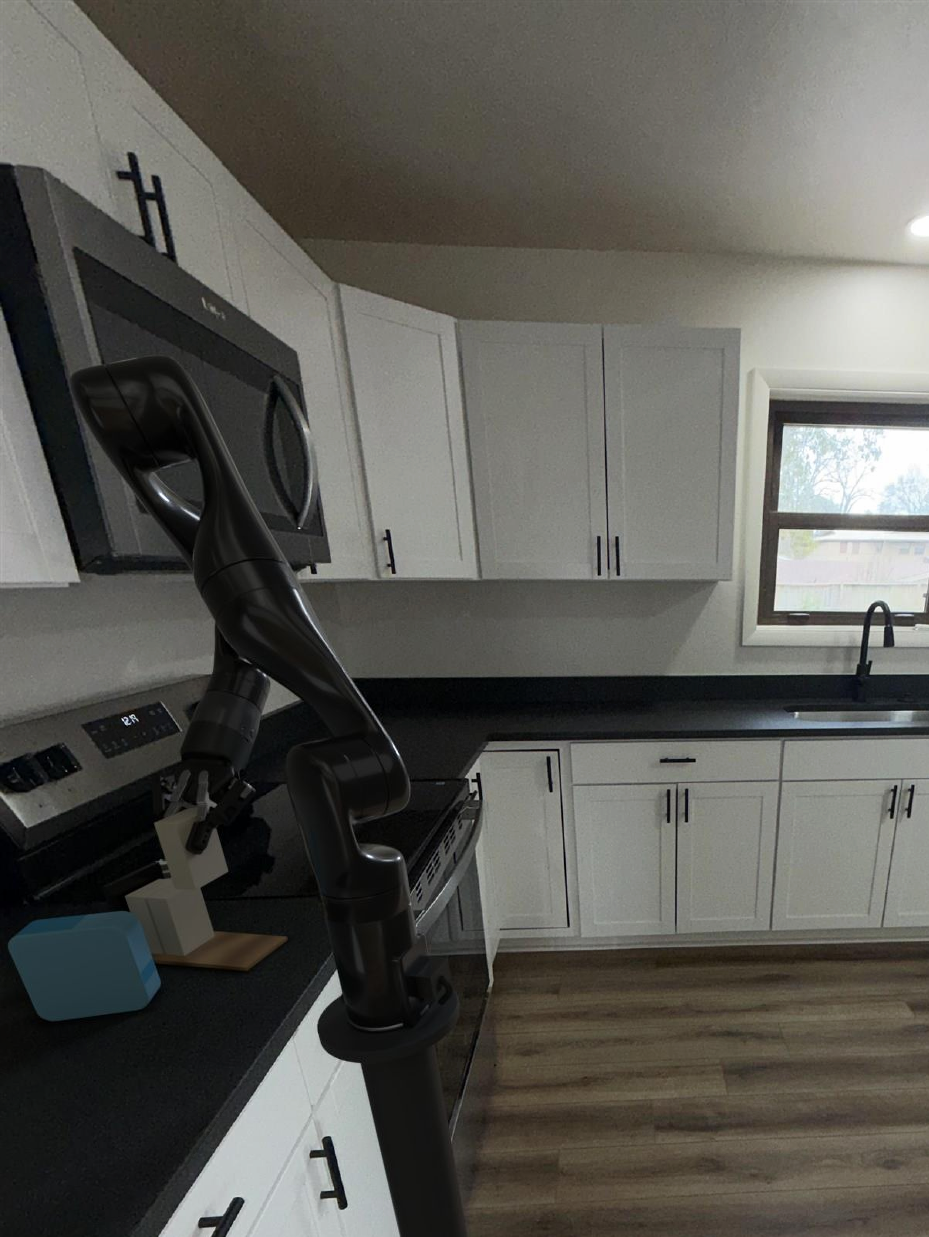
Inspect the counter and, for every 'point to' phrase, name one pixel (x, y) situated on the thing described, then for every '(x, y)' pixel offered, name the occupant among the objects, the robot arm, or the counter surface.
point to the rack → (183, 924)
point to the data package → (85, 965)
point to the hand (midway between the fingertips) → (180, 850)
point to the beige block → (184, 864)
